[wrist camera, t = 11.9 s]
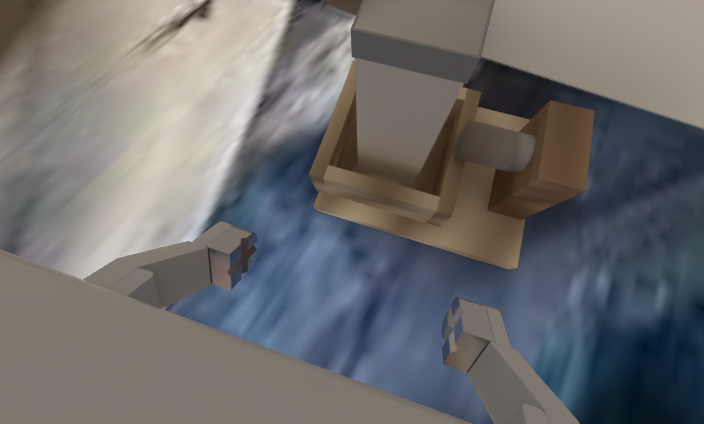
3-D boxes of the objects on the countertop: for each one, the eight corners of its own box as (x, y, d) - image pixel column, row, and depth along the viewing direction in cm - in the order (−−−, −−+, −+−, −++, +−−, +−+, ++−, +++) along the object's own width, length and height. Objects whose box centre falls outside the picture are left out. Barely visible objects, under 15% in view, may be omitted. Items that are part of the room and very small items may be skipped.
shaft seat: (313, 209, 22) (290, 172, 15) (358, 87, 25) (357, 9, 18) (508, 269, 20) (585, 258, 13) (532, 130, 23) (605, 62, 16)
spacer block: (356, 170, 21) (350, 29, 10) (373, 120, 23) (386, -58, 11) (414, 186, 21) (480, 58, 9) (428, 135, 22) (503, -36, 10)
